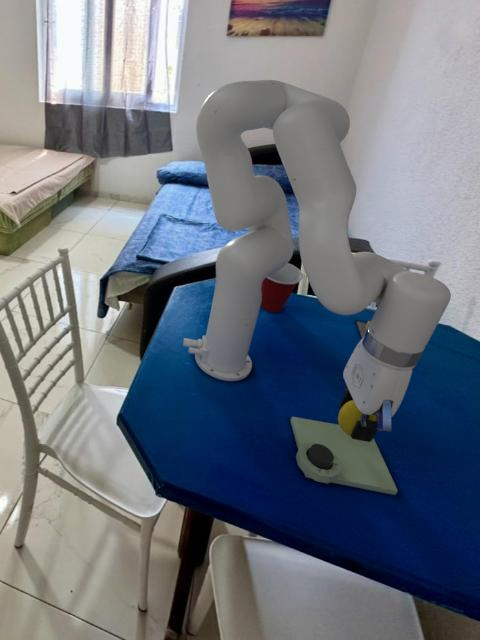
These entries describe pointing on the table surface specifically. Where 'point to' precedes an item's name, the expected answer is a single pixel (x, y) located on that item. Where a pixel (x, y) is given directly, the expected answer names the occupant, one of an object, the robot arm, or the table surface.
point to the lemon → (350, 417)
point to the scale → (342, 457)
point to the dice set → (363, 328)
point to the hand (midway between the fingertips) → (354, 423)
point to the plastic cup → (279, 287)
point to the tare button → (320, 456)
